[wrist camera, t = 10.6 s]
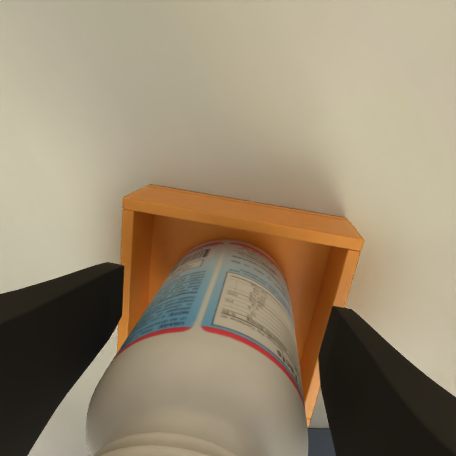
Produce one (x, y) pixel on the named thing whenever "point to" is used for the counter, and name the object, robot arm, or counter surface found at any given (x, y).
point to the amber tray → (250, 233)
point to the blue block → (320, 443)
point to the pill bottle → (207, 365)
